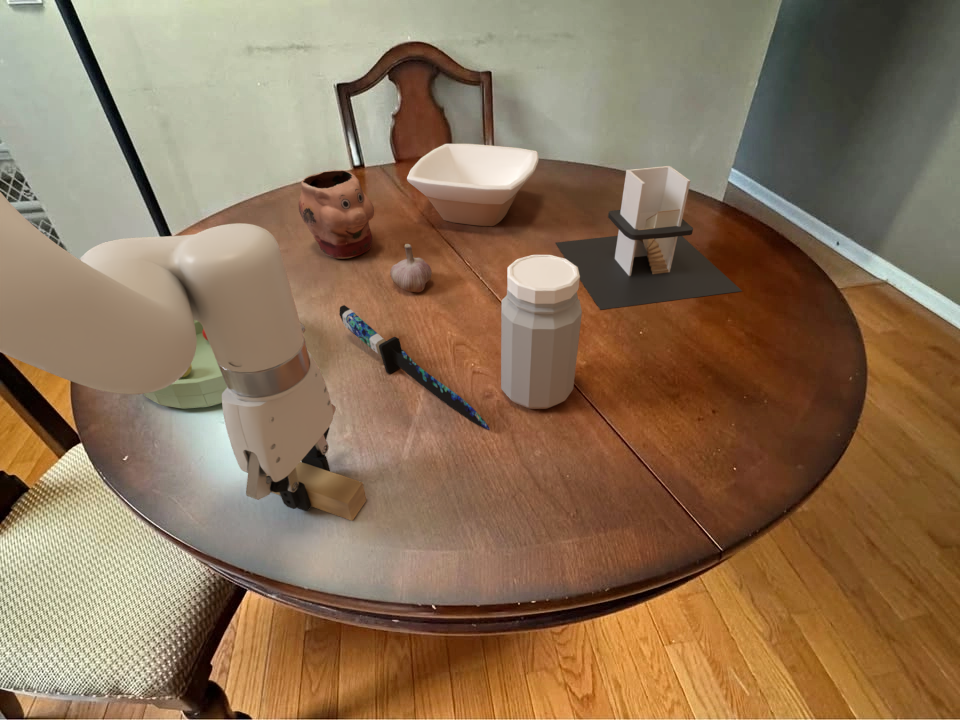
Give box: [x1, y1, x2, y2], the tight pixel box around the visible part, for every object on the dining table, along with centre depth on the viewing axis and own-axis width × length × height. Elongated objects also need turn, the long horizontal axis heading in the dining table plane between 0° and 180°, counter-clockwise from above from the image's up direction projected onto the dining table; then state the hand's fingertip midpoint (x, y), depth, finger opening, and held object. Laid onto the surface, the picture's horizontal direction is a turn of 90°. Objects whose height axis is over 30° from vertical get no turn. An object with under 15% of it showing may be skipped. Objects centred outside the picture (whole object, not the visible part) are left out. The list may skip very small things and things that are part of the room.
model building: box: [554, 165, 743, 310], centre depth 95 cm, size 25×24×16 cm
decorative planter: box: [298, 169, 375, 260], centre depth 104 cm, size 20×12×14 cm, turn 48°
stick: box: [267, 462, 368, 521], centre depth 61 cm, size 13×3×3 cm, turn 68°
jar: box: [500, 254, 583, 410], centre depth 69 cm, size 10×10×18 cm
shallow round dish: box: [143, 320, 227, 409], centre depth 79 cm, size 21×21×5 cm
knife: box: [339, 304, 491, 431], centre depth 75 cm, size 31×3×4 cm, turn 42°
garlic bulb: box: [389, 243, 433, 293], centre depth 94 cm, size 8×7×8 cm
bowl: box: [406, 143, 539, 227], centre depth 116 cm, size 24×25×11 cm
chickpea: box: [180, 365, 192, 378], centre depth 76 cm, size 3×3×3 cm
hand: (308, 490), depth 61 cm, fingers open, 3 cm apart
